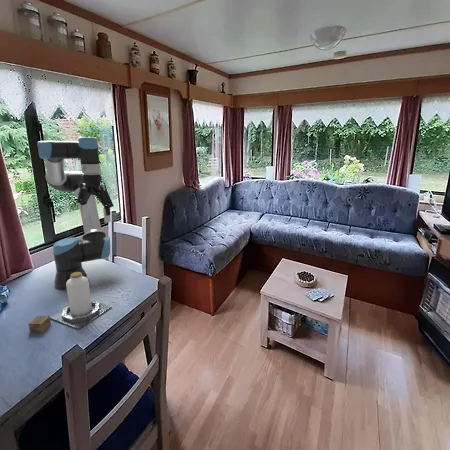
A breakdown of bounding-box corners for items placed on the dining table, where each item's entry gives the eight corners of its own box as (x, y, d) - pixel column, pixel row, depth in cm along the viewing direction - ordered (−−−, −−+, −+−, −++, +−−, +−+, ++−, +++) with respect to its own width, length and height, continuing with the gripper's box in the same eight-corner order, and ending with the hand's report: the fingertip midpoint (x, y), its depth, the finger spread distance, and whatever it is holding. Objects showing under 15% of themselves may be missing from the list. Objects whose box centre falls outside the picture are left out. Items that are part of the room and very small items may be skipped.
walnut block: (30, 332, 106) (28, 323, 105) (38, 324, 111) (36, 315, 110) (43, 332, 106) (41, 323, 105) (50, 324, 111) (49, 316, 110)
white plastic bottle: (75, 306, 122) (70, 269, 117) (95, 306, 123) (90, 269, 118) (67, 318, 114) (60, 278, 109) (87, 317, 115) (82, 278, 110)
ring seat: (49, 318, 114) (48, 314, 114) (84, 298, 129) (83, 294, 129) (78, 330, 108) (78, 325, 107) (111, 307, 123) (111, 303, 122)
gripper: (64, 172, 122) (71, 218, 128) (105, 176, 112) (110, 226, 118) (79, 171, 129) (85, 214, 135) (119, 174, 119) (123, 221, 125)
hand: (96, 220), depth 127 cm, fingers open, 13 cm apart
